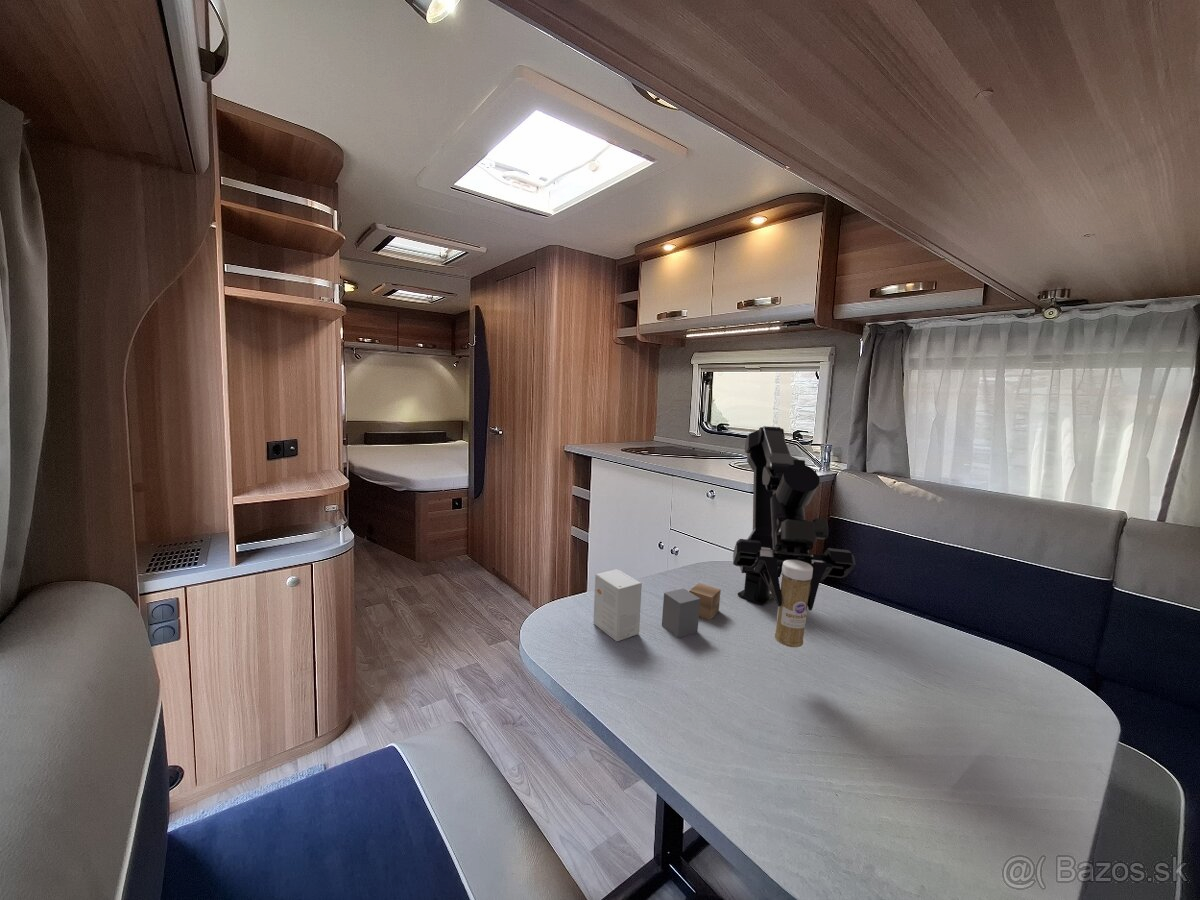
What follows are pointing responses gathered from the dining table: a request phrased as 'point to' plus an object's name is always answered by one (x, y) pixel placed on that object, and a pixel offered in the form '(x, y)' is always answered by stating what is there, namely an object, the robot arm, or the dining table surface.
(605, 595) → the small box
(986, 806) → the dining table surface
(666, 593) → the gray block
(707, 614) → the walnut cube
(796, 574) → the sprinkles bottle
